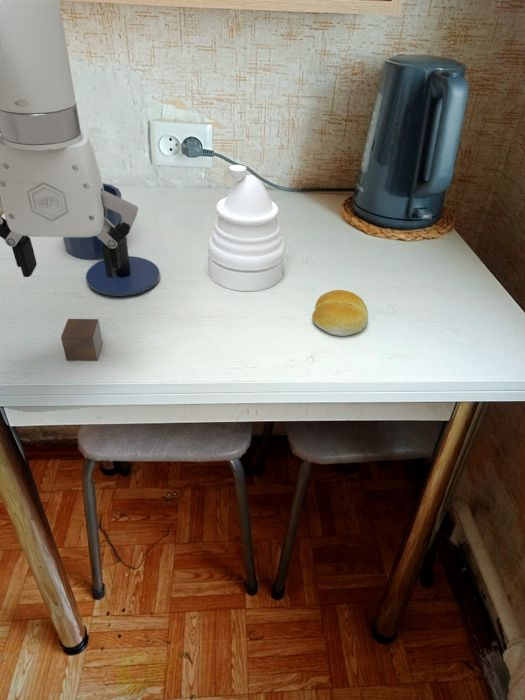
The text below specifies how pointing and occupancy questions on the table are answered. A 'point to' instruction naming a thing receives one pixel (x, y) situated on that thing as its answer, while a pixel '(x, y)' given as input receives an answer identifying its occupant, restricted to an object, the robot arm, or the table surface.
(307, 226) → the table surface
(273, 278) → the honey pot
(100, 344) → the block
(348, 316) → the bread roll
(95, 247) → the pot
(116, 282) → the lid
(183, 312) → the table surface
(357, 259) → the table surface
